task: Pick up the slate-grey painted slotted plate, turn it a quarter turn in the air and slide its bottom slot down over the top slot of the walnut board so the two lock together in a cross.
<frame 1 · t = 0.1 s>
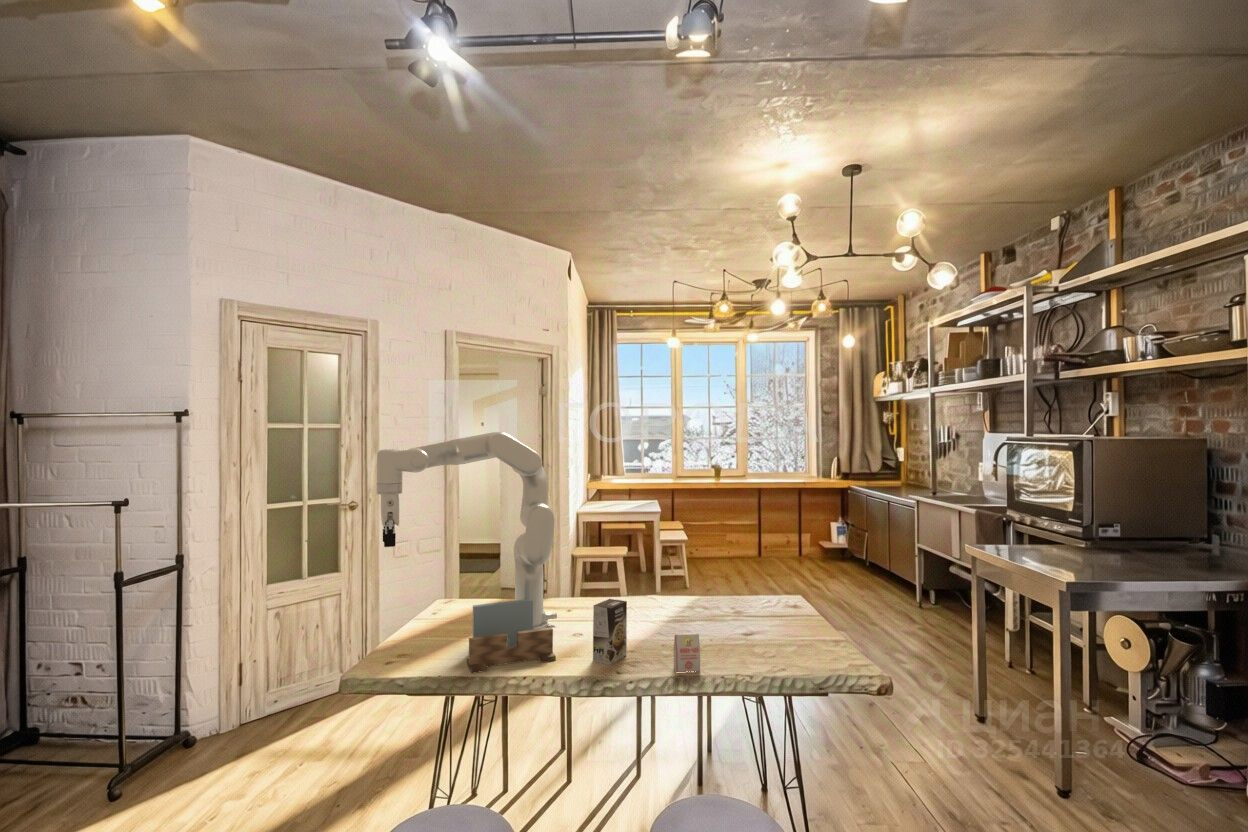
hand: (388, 543, 190), 31 cm above the table, tool pointing down, fingers open, 9 cm apart
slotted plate: (503, 649, 186), on the table
white carton: (686, 671, 170), on the table
coffee box: (610, 659, 179), on the table
slotted board: (511, 661, 176), on the table
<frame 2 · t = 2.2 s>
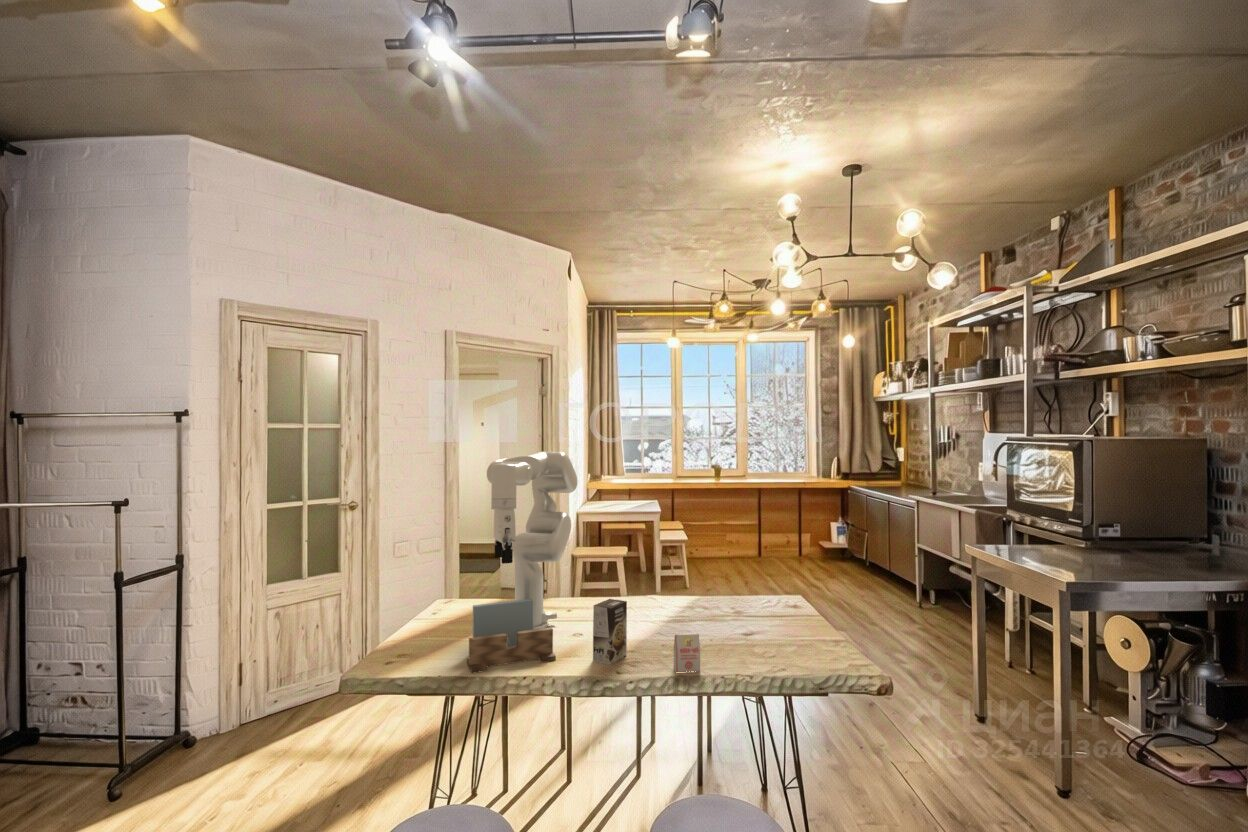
hand: (503, 560, 187), 27 cm above the table, tool pointing down, fingers open, 9 cm apart
nothing on the table moved.
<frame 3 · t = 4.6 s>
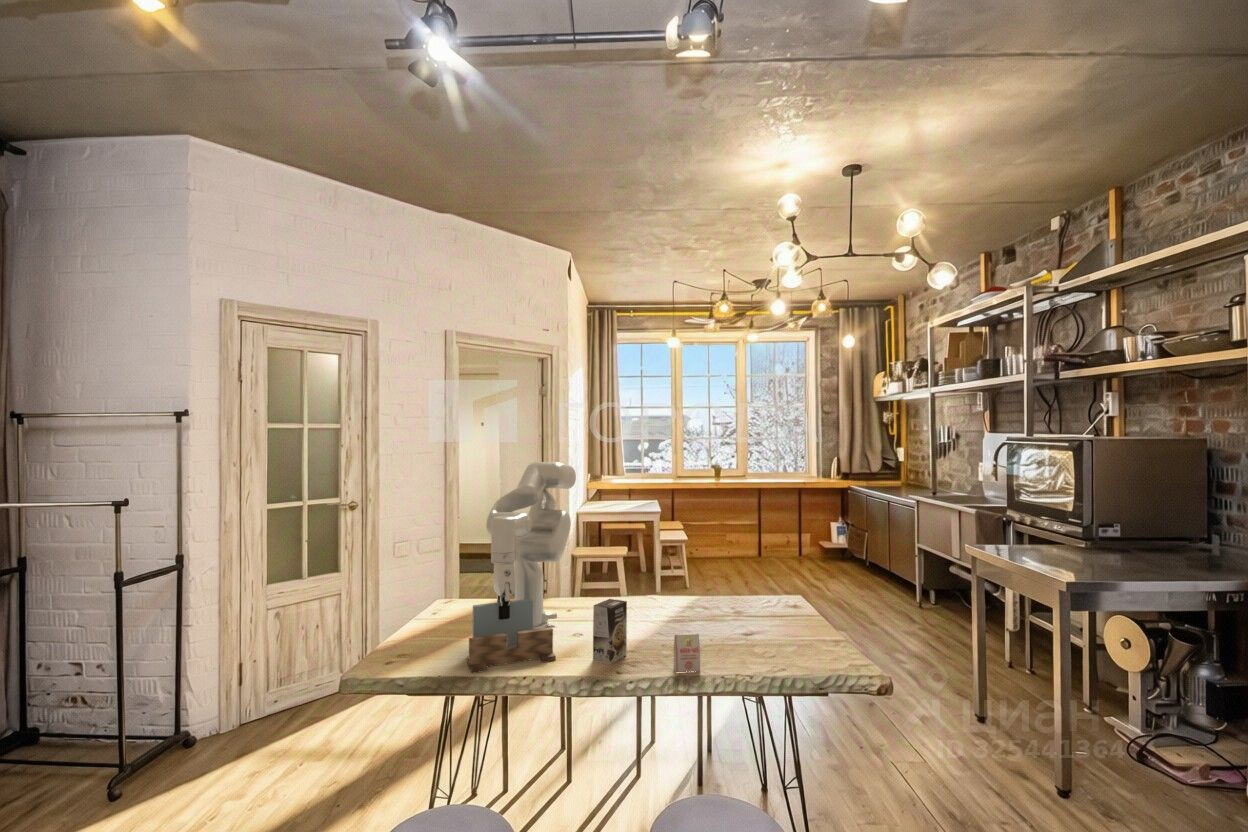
hand: (503, 617, 186), 10 cm above the table, tool pointing down, fingers closed on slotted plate, 2 cm apart
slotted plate: (502, 649, 186), on the table, touching gripper
everything else where it was.
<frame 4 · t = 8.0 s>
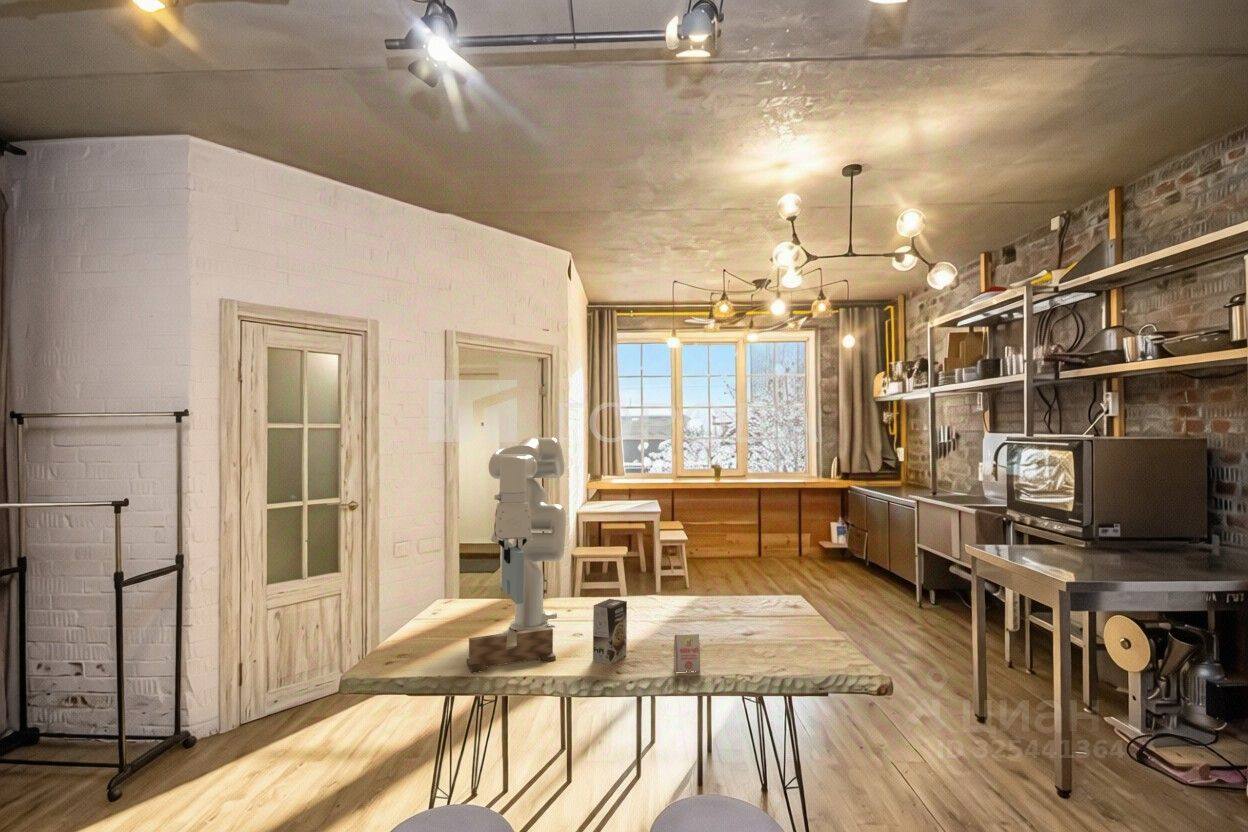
hand: (512, 561, 177), 29 cm above the table, tool pointing down, fingers closed on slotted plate
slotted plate: (511, 595, 176), point 19 cm above the table, touching gripper
everything else where it was.
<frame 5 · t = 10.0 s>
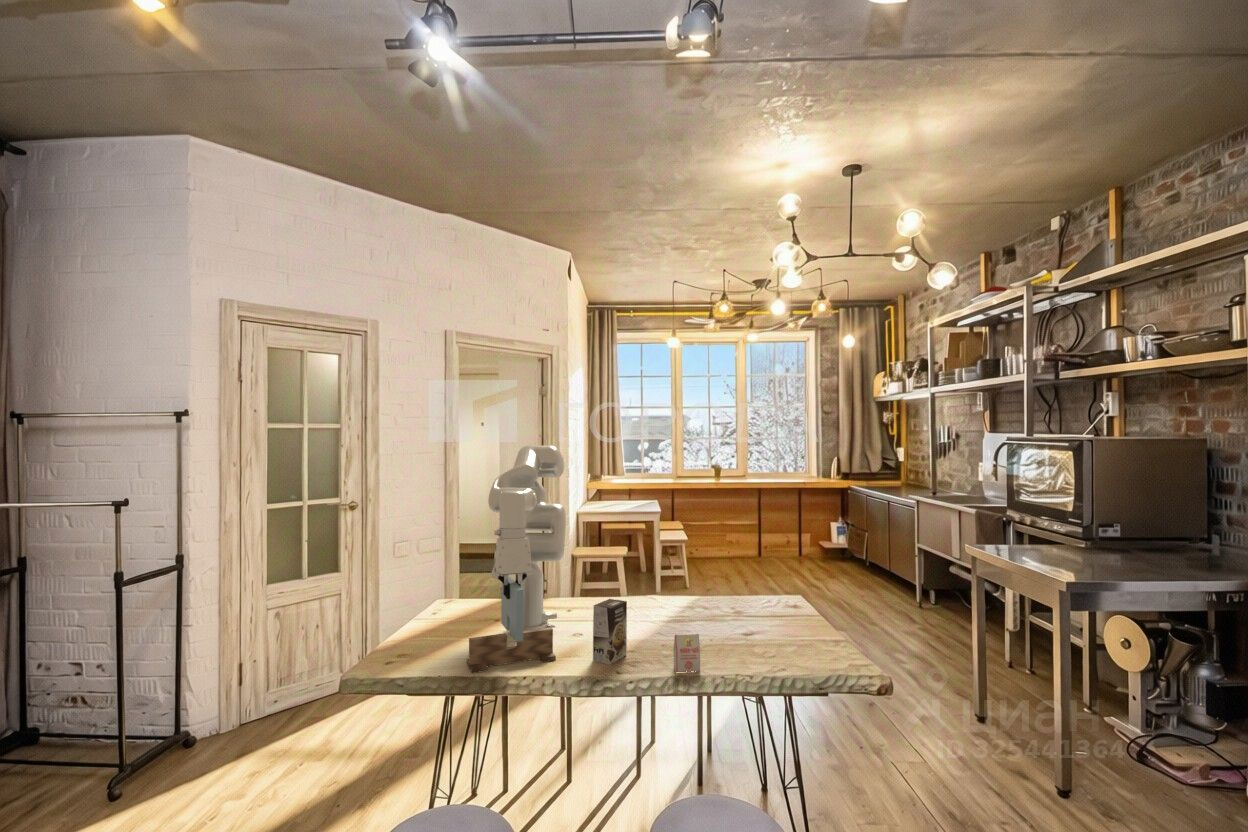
hand: (511, 597, 177), 18 cm above the table, tool pointing down, fingers closed on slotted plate
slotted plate: (511, 631, 176), point 9 cm above the table, touching gripper
everything else where it was.
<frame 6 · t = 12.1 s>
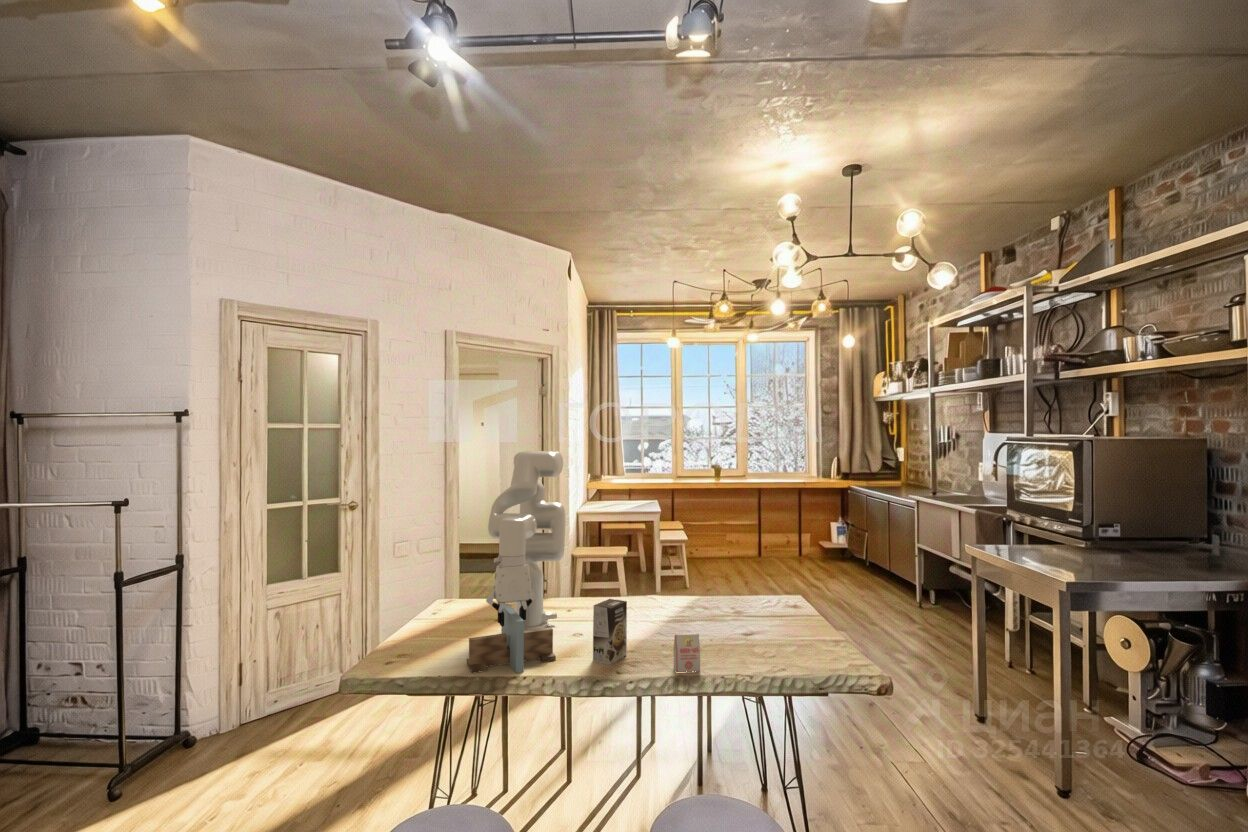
hand: (511, 623, 176), 11 cm above the table, tool pointing down, fingers open, 5 cm apart
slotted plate: (511, 661, 176), on the table
everything else where it was.
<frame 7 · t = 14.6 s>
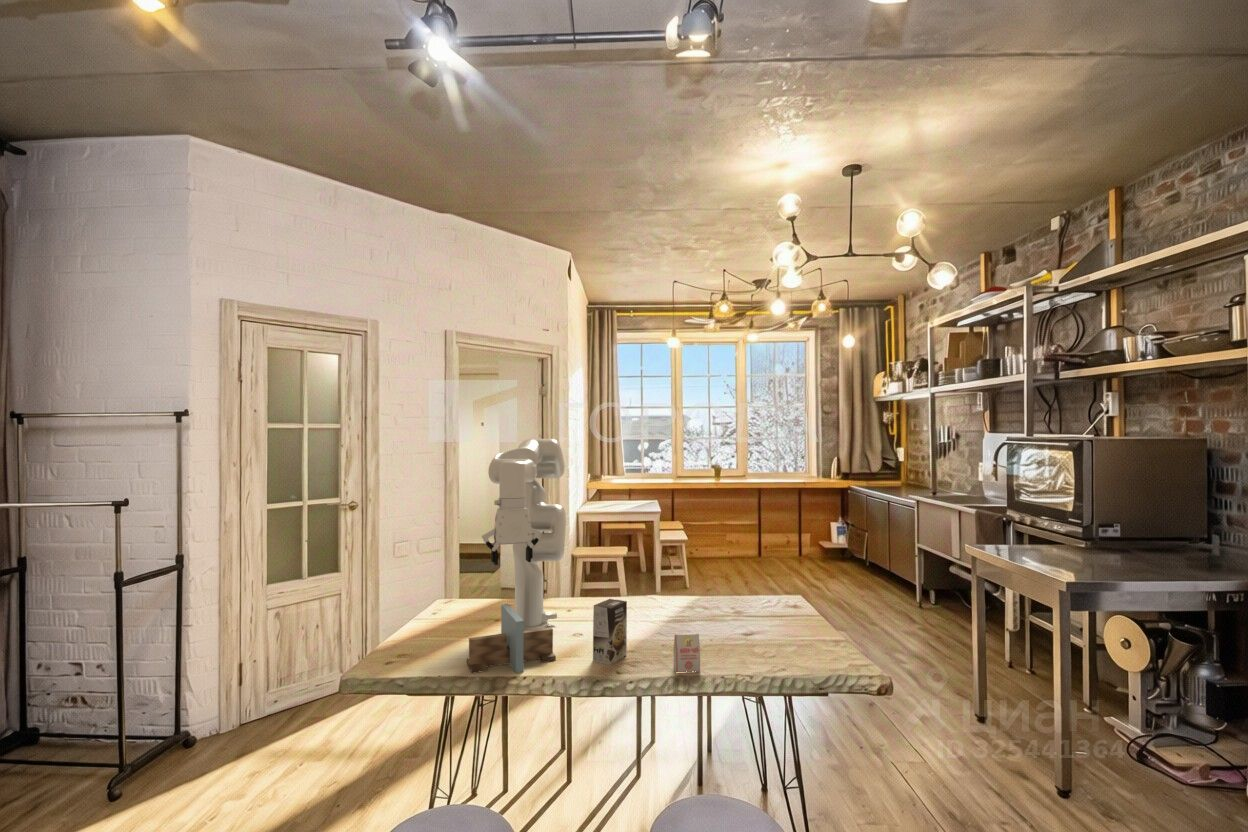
hand: (512, 562, 177), 28 cm above the table, tool pointing down, fingers open, 9 cm apart
nothing on the table moved.
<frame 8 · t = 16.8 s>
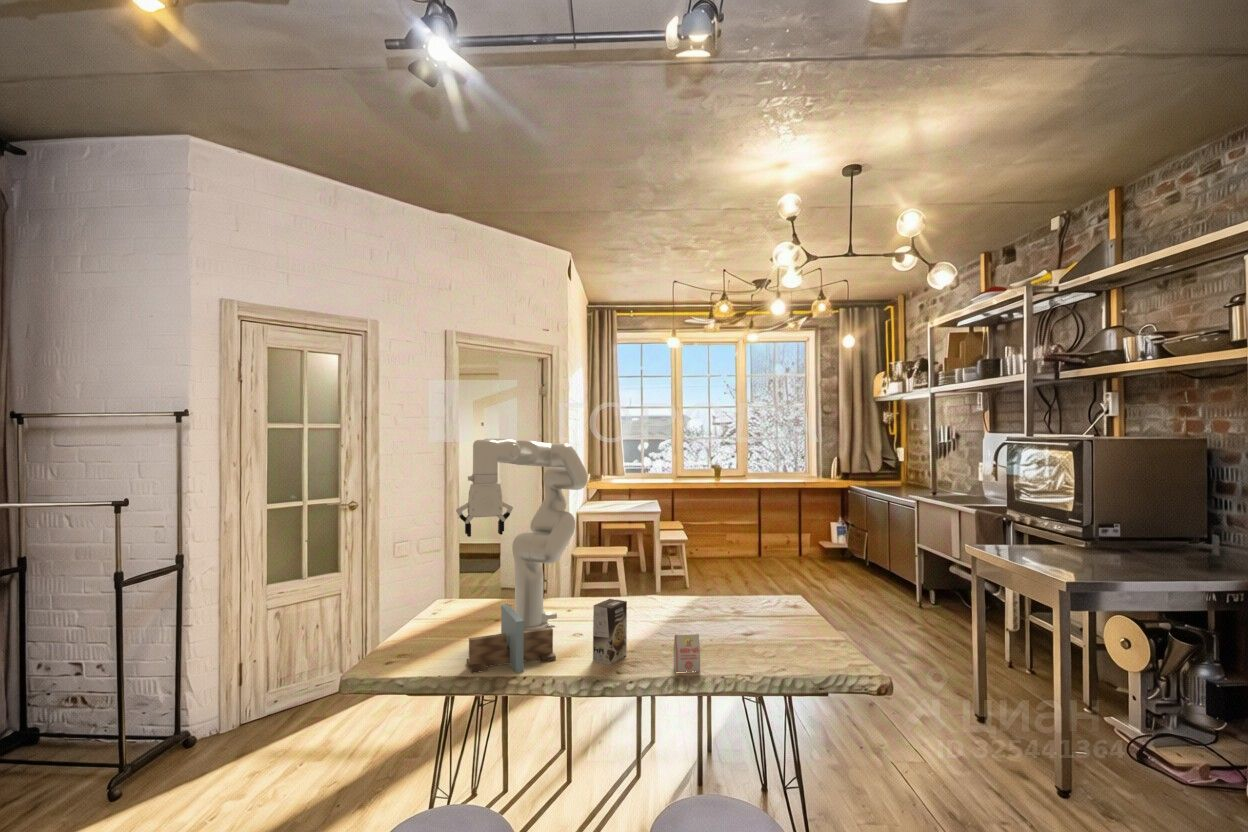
hand: (484, 535, 189), 34 cm above the table, tool pointing down, fingers open, 9 cm apart
nothing on the table moved.
at the end: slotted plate 0.1 cm off-centre on the slotted board, point 0.0 cm above the slotted board's base; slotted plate tilted 0°; the gripper is holding nothing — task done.
